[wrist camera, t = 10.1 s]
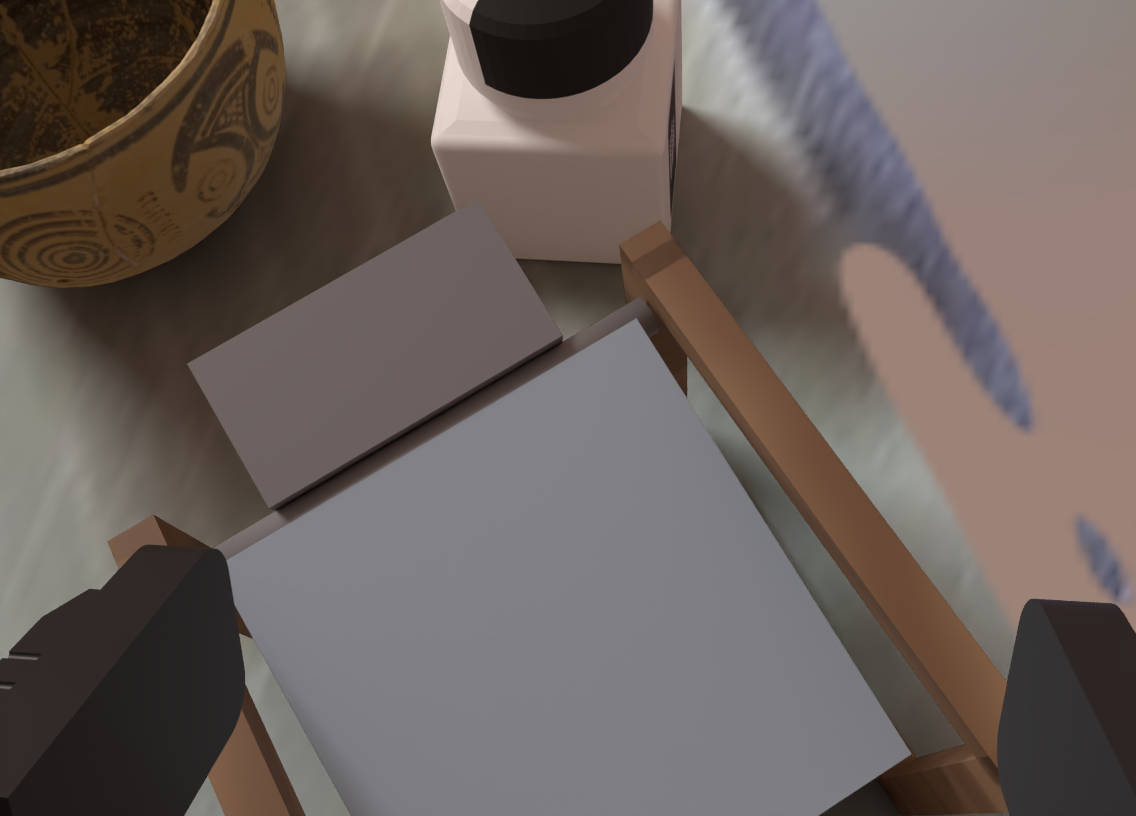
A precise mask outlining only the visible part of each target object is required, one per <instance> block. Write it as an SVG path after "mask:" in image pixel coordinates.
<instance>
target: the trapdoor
mask: <svg viewBox="0 0 1136 816" xmlns="http://www.w3.org/2000/svg"><path fill="white" fill-rule="evenodd" d="M658 332H659V327H658V324H657V322H656V319H655V317H654V316H653V314H652V312H651V310H650V309H649V307H648V306H647V305H646V303H645V302H644V301H643V300H642V299H641V298H639V297H638V298H637V299H635V300H633V301H632V302H630V303H628V304H626V305H625V306H623V307H621V308H620V309H618V310H616V311H615V312H613V313H611V314H609V315H608V316H606V317H604V318H603V319H601V320H599V321H598V322H596V323H594V324H592V325H591V326H589V327H587V328H586V329H584V330H582V331H581V332H579V333H577V334H576V335H574V336H572V337H570V338H569V339H567V340H565V341H564V342H562V339H563V335H562V333H561V332H560V330H559V328H558V327H557V325H556V324H555V322H554V320H553V319H552V317H551V315H550V314H549V312H548V311H547V309H546V307H545V306H544V304H543V303H542V301H541V299H540V298H539V296H538V294H537V293H536V291H535V290H534V288H533V286H532V285H531V283H530V282H529V280H528V278H527V277H526V275H525V273H524V272H523V270H522V269H521V267H520V265H519V264H518V262H517V261H516V259H515V257H514V256H513V254H512V252H511V251H510V249H509V248H508V246H507V244H506V243H505V241H504V240H503V238H502V236H501V235H500V233H499V232H498V230H497V228H496V227H495V225H494V223H493V222H492V220H491V219H490V217H489V215H488V214H487V212H486V211H485V209H484V207H483V206H482V204H481V202H480V201H479V199H476V200H475V201H473V202H471V203H469V204H468V205H466V206H464V207H462V208H460V209H459V210H457V211H455V212H453V213H452V214H450V215H448V216H446V217H445V218H443V219H441V220H439V221H438V222H436V223H434V224H432V225H431V226H429V227H427V228H425V229H423V230H422V231H420V232H418V233H416V234H415V235H413V236H411V237H409V238H408V239H406V240H404V241H402V242H401V243H399V244H397V245H395V246H394V247H392V248H390V249H388V250H386V251H385V252H383V253H381V254H379V255H378V256H376V257H374V258H372V259H371V260H369V261H367V262H365V263H364V264H362V265H360V266H358V267H357V268H355V269H353V270H351V271H349V272H348V273H346V274H344V275H342V276H341V277H339V278H337V279H335V280H334V281H332V282H330V283H328V284H327V285H325V286H323V287H321V288H320V289H318V290H316V291H314V292H312V293H311V294H309V295H307V296H305V297H304V298H302V299H300V300H298V301H297V302H295V303H293V304H291V305H290V306H288V307H286V308H284V309H283V310H281V311H279V312H277V313H275V314H274V315H272V316H270V317H268V318H267V319H265V320H263V321H261V322H260V323H258V324H256V325H254V326H253V327H251V328H249V329H247V330H246V331H244V332H242V333H240V334H238V335H237V336H235V337H233V338H231V339H230V340H228V341H226V342H224V343H223V344H221V345H219V346H217V347H216V348H214V349H212V350H210V351H209V352H207V353H205V354H203V355H201V356H200V357H198V358H196V359H194V360H193V361H191V362H189V363H187V365H188V366H189V368H190V370H191V372H192V374H193V375H194V377H195V379H196V381H197V382H198V384H199V386H200V388H201V389H202V391H203V393H204V395H205V397H206V398H207V400H208V402H209V404H210V405H211V407H212V409H213V411H214V412H215V414H216V416H217V418H218V420H219V421H220V423H221V425H222V427H223V428H224V430H225V432H226V434H227V436H228V437H229V439H230V441H231V443H232V444H233V446H234V448H235V450H236V451H237V453H238V455H239V457H240V459H241V460H242V462H243V464H244V466H245V467H246V469H247V471H248V473H249V474H250V476H251V478H252V480H253V482H254V483H255V485H256V487H257V489H258V490H259V492H260V494H261V496H262V497H263V499H264V501H265V503H266V505H267V506H268V508H269V509H273V510H277V511H275V512H273V513H271V514H270V515H268V516H266V517H265V518H263V519H261V520H260V521H258V522H256V523H254V524H253V525H251V526H249V527H248V528H246V529H244V530H243V531H241V532H239V533H237V534H236V535H234V536H232V537H231V538H229V539H227V540H226V541H224V542H222V543H220V544H219V545H217V546H215V547H214V549H218V550H220V551H221V552H222V554H223V555H224V557H225V559H226V561H227V564H228V569H229V574H230V580H231V587H232V593H233V599H234V605H235V606H236V608H237V610H238V612H239V614H240V616H241V617H242V619H243V621H244V623H245V625H246V626H247V628H248V630H249V632H250V634H251V635H252V637H253V639H254V641H255V643H256V644H257V646H258V648H259V650H260V652H261V654H262V655H263V657H264V659H265V661H266V663H267V664H268V666H269V668H270V670H271V672H272V673H273V675H274V677H275V679H276V681H277V682H278V684H279V686H280V688H281V690H282V692H283V693H284V695H285V697H286V699H287V701H288V702H289V704H290V706H291V708H292V710H293V711H294V713H295V715H296V717H297V719H298V720H299V722H300V724H301V726H302V728H303V730H304V731H305V733H306V735H307V737H308V739H309V740H310V742H311V744H312V746H313V748H314V749H315V751H316V753H317V755H318V757H319V758H320V760H321V762H322V764H323V766H324V768H325V769H326V771H327V773H328V775H329V777H330V778H331V780H332V782H333V784H334V786H335V787H336V789H337V791H338V793H339V795H340V796H341V798H342V800H343V802H344V804H345V806H346V807H347V809H348V811H349V813H350V815H351V816H818V815H820V814H821V813H823V812H824V811H826V810H828V809H829V808H831V807H832V806H834V805H835V804H837V803H838V802H840V801H841V800H843V799H844V798H846V797H847V796H849V795H850V794H852V793H853V792H855V791H856V790H858V789H859V788H861V787H862V786H864V785H865V784H867V783H868V782H870V781H871V780H873V779H875V778H876V777H878V776H879V775H881V774H882V773H884V772H885V771H887V770H888V769H890V768H891V767H893V766H894V765H896V764H897V763H899V762H900V761H902V760H903V759H905V758H906V757H908V756H909V755H911V752H910V751H909V749H908V748H907V746H906V745H905V743H904V741H903V740H902V738H901V737H900V735H899V733H898V732H897V730H896V729H895V727H894V726H893V724H892V722H891V721H890V719H889V718H888V716H887V714H886V713H885V711H884V710H883V708H882V707H881V705H880V703H879V702H878V700H877V699H876V697H875V695H874V694H873V692H872V691H871V689H870V688H869V686H868V684H867V683H866V681H865V680H864V678H863V676H862V675H861V673H860V672H859V670H858V669H857V667H856V665H855V664H854V662H853V661H852V659H851V657H850V656H849V654H848V653H847V651H846V650H845V648H844V646H843V645H842V643H841V642H840V640H839V638H838V637H837V635H836V634H835V632H834V630H833V629H832V627H831V626H830V624H829V623H828V621H827V619H826V618H825V616H824V615H823V613H822V611H821V610H820V608H819V607H818V605H817V604H816V602H815V600H814V599H813V597H812V596H811V594H810V592H809V591H808V589H807V588H806V586H805V585H804V583H803V581H802V580H801V578H800V577H799V575H798V573H797V572H796V570H795V569H794V567H793V566H792V564H791V562H790V561H789V559H788V558H787V556H786V554H785V553H784V551H783V550H782V548H781V547H780V545H779V543H778V542H777V540H776V539H775V537H774V535H773V534H772V532H771V531H770V529H769V528H768V526H767V524H766V523H765V521H764V520H763V518H762V516H761V515H760V513H759V512H758V510H757V509H756V507H755V505H754V504H753V502H752V501H751V499H750V497H749V496H748V494H747V493H746V491H745V490H744V488H743V486H742V485H741V483H740V482H739V480H738V478H737V477H736V475H735V474H734V472H733V470H732V469H731V467H730V466H729V464H728V463H727V461H726V459H725V458H724V456H723V455H722V453H721V451H720V450H719V448H718V447H717V445H716V444H715V442H714V440H713V439H712V437H711V436H710V434H709V432H708V431H707V429H706V428H705V426H704V425H703V423H702V421H701V420H700V418H699V417H698V415H697V413H696V412H695V410H694V409H693V407H692V406H691V404H690V402H689V401H688V399H687V398H686V396H685V394H684V393H683V391H682V390H681V388H680V387H679V385H678V383H677V382H676V380H675V379H674V377H673V375H672V374H671V372H670V371H669V369H668V368H667V366H666V364H665V363H664V361H663V360H662V358H661V356H660V355H659V353H658V352H657V350H656V349H655V347H654V345H653V344H652V342H651V341H650V339H649V338H650V337H651V336H653V335H655V334H656V333H658Z"/></svg>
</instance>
